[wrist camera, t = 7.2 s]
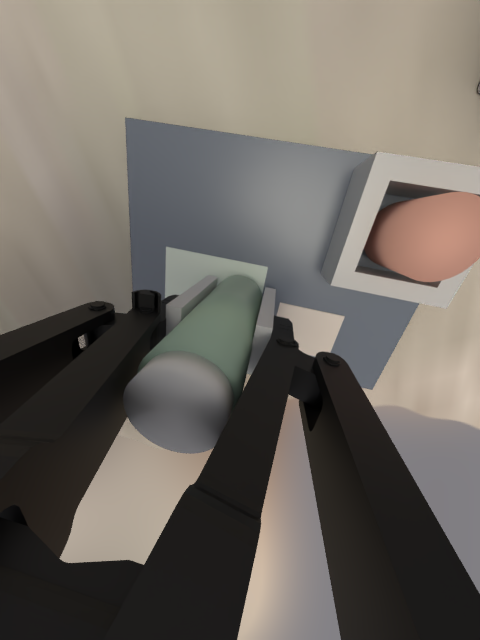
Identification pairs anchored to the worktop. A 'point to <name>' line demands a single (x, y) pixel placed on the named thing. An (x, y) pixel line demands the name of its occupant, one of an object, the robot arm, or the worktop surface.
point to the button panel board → (284, 230)
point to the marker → (197, 371)
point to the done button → (427, 236)
